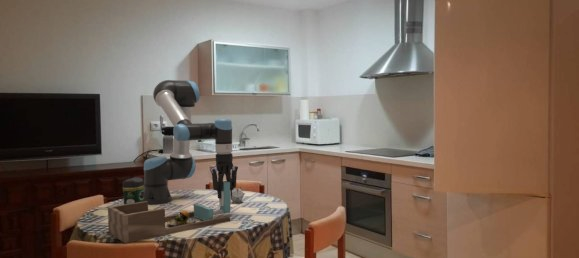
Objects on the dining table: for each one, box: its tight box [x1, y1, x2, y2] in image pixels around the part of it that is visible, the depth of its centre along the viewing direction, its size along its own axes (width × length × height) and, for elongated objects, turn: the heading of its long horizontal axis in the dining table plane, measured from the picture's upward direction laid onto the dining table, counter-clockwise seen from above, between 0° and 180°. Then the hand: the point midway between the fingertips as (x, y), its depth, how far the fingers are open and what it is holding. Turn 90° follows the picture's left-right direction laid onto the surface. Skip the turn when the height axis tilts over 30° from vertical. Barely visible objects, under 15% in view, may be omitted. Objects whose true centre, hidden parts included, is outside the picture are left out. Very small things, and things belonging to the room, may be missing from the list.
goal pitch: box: [107, 201, 231, 244], centre depth 171 cm, size 19×44×10 cm, turn 130°
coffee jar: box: [122, 176, 145, 205], centre depth 183 cm, size 10×8×19 cm
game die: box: [231, 186, 246, 205], centre depth 215 cm, size 9×8×10 cm
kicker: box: [193, 180, 232, 221], centre depth 184 cm, size 14×14×15 cm
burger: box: [166, 210, 196, 227], centre depth 174 cm, size 12×12×8 cm
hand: (225, 204), depth 187 cm, fingers closed on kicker, 3 cm apart
